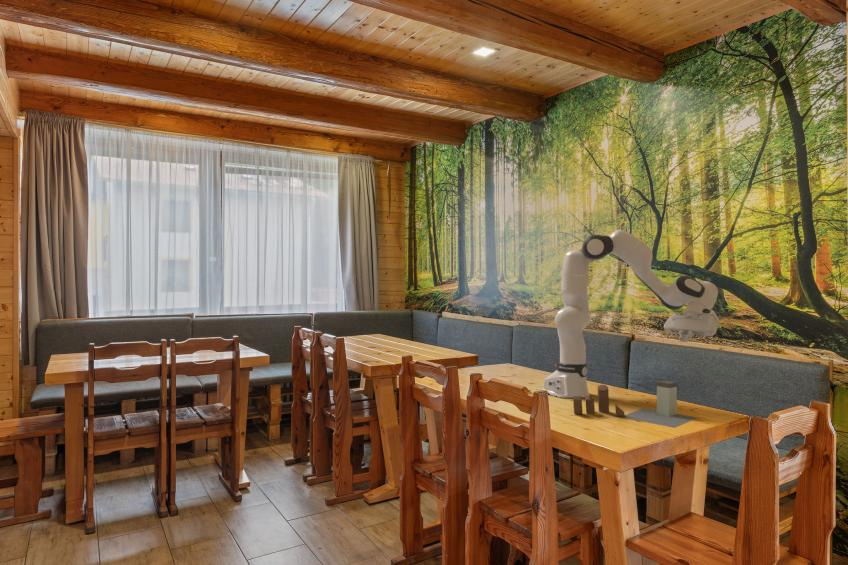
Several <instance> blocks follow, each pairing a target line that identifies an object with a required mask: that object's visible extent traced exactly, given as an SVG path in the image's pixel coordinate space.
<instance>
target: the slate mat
mask: <svg viewBox="0 0 848 565" xmlns="http://www.w3.org/2000/svg"><path fill="white" fill-rule="evenodd" d="M619 418H624V419H629V420H633V421H639V422H644V423H650V424H654V425H659V426H664V427H668V428H678V427H680V426H681V425H684V424H686V423H688V422H691V421H693V420H696V419H697V418H698V417H697V416H696V417H695V416H692V415H691V416H690V415H684V414H680V413H679V414H678V413H677V414H676V415H672V416H665V415H661V414H657V409H653V408H646V407H644V408H640V409H638V410H634V411H632V412H630V413H626V414H625V416H619Z"/></svg>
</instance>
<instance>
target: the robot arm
mask: <svg viewBox="0 0 848 565" xmlns="http://www.w3.org/2000/svg"><path fill="white" fill-rule="evenodd" d="M609 254H612V255H614V256H616V257H618V258H619V259H621V260H622V261H623V262H624V263H626V264H627V265H628V266H629V267H630V269H631V270H632V272H633V273H634V275H635V277H636V278H637V279H638V280H640V282H641V283H642V284H644V285H645V286H646V287H647V288H648V290H650V291H651V292H652V293H653V294H654V295H655V296H656V298H658V299H659V301H660V302H661V304H662V305H663V306H664V307H665V308H667V309H669V310H673V311H677V310H680V309H682V308H683V307H684V306H685V305H686V304H687V305H686V308H685V309H684V311H683V313H674V314H672V315H670V316H669V317H668V319H666V321H665V323H664V324H663V329H664V331H665V332H666V333H667V334H678V335H679V337H678V341H679V342H680V343H688V342H689V340H690V339H691V338H693V337H694V336H703V337H714V335H716V333H717V330H718V328H719V325H718V324H719V323H720V319H719V317H718V315H717V313H716V312H715V311H714V310H713V307H714V306H715V304H716V301H717V298H718V296H719V295H718V294H719V290H718V288H717V286H716V284H714V283H712V282H710V281H707V280H702V281H701V280H697V279H695V278H694V277H692V276H689V275H681V276H678V277H677V278H676V279H675V280H674V281H673V282H672V283H671V284H670V285H668V284H666V283H665V282H664V281H663V280H661V279H660V278H659V276H658V275H656V274H655V273H654V271H653V269H652V262H653V251H652V249H651V248H650V247H649V245H648V244H647V243H646V242H643V240H641V239H639V237H636V236H635V235H633V234H631V233H630V232H628V231H626V230H624V229H616V230H615V231H613V232H611V233H610V235H602V234H592V235H588V236H587V237H586V238H585V239H584V241H583V243H582V245H581V247H580V248H579V249H573V250H569V251H568V252H566V253H565V255H564V257H563V263H562V268H561V269H562V270H561V286H560V288H561V290H560V292H561V295H562V300H563V308H561V309H560V310H559V311H558V312H557V313H556V315H555V316H554V324H555V327H556V330H557V336H558V340H559V341H558V342H559V362H557V363H555V364H554V367H556V369H555V371H553V372H552V373H551V374H549V375H548V376H546V377H545V378H544V381H543V387H540V388H538V390H547V391H548V392H549V394H550V395H549V396H552V397H556V396H557V398H560V397H561V398H562V399H564V398H566V399H567V398H568V399H569V398H570V399H571V398H572V399H573V396H581V397H582V398H585V396H590V392H589V389H588V381H587V374H588V364H587V345H586V342H585V338H584V333H583V330H584V329H585V328H586V327H588V325H589V324H590V322H591V314H590V307H589V297H588V283H589V282H588V280H589V276H588V275H589V266H590V263H591V262H595V261H600V260H602V259H604V258H605V257H607V256H608V255H609ZM590 397H591V396H590ZM561 398H560V399H561Z"/></svg>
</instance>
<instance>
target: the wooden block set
mask: <svg viewBox="0 0 848 565" xmlns="http://www.w3.org/2000/svg"><path fill="white" fill-rule="evenodd" d="M609 398H610V396H609V386H607V385H605V384H600V385H598V386H597V405H598V406H597V408H598V412H599V413H601V414H608V413H609V412H610V399H609ZM584 399H585V412H586V414H587V415H593V414H594V415H595V413H596V411H595V410H596V409H595V406H596V405H595V399H594V398H593V397H592V396H585V397H584ZM572 400H573V401H572V402H573V403H572V404H573V413H574V415H583V401H582V400H583V399H582V397H581V396H573V398H572ZM614 409H615V416H616V417H620V416H625V415H626V414H625V410H623V409H621V407H619V406H618V404H616V403H615V408H614Z"/></svg>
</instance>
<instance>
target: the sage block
mask: <svg viewBox="0 0 848 565" xmlns="http://www.w3.org/2000/svg"><path fill="white" fill-rule="evenodd" d="M677 386H678V382H677V381H676V382H675V381H671V380H659V381H656V410H657V414H661V415H665V416H672V415H676V414H678V409H677V407H678V406H677V405H678V403H677V401H678V400H677V397H678V396H677V395H678V390H677V389H678V387H677Z"/></svg>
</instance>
